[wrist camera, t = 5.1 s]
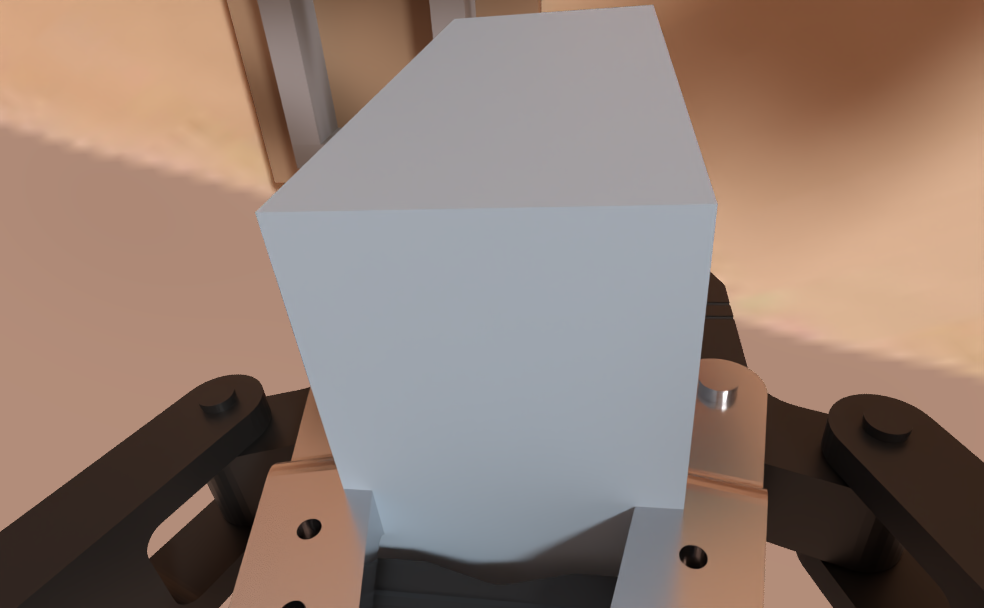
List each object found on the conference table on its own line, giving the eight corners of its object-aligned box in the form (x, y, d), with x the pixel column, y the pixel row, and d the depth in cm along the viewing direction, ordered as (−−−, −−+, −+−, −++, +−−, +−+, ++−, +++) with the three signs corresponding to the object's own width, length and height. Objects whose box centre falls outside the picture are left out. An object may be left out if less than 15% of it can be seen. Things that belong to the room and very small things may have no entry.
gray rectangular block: (454, 19, 12) (254, 211, 5) (653, 4, 11) (717, 203, 4) (499, 423, 17) (432, 767, 11) (635, 428, 17) (651, 796, 10)
